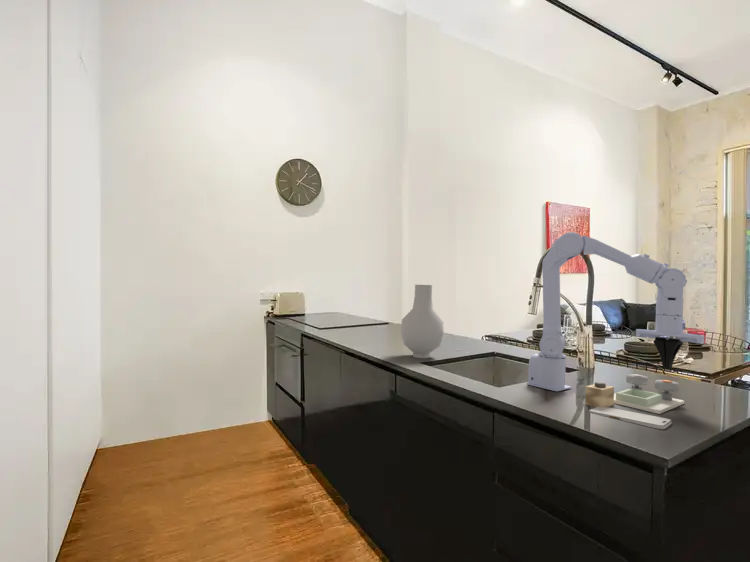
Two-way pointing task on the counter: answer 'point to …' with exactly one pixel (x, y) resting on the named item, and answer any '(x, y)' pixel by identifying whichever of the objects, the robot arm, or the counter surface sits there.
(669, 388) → the grey rounded cap
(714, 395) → the counter surface
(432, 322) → the vase
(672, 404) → the chassis
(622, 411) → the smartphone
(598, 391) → the tan wooden block
